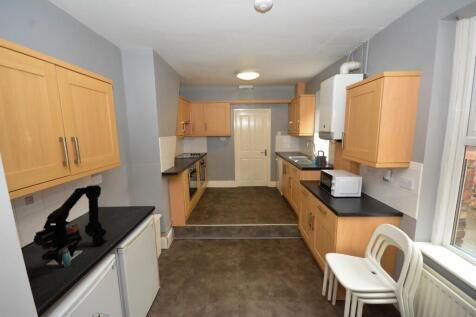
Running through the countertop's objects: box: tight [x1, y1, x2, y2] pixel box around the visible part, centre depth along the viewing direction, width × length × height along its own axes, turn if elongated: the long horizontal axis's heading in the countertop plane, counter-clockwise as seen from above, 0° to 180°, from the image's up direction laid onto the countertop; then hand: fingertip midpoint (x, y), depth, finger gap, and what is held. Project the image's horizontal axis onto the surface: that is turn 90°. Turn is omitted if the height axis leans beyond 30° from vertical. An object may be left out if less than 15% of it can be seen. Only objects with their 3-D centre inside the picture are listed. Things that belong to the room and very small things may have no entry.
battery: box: [66, 223, 81, 238], centre depth 141 cm, size 4×7×10 cm, turn 16°
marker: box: [59, 247, 72, 269], centre depth 111 cm, size 3×3×10 cm
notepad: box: [46, 250, 83, 266], centre depth 119 cm, size 12×11×1 cm
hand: (66, 260), depth 111 cm, fingers open, 7 cm apart
